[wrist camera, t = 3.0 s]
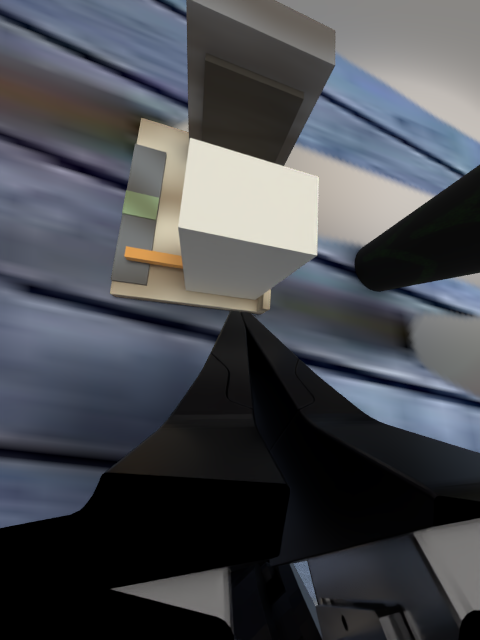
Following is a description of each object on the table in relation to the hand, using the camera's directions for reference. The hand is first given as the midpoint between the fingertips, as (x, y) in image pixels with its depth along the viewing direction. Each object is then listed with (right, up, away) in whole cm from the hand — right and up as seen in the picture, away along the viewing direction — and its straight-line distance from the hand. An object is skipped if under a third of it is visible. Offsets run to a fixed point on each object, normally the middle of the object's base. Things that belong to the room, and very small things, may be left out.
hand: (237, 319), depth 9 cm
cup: (+16, +6, +14) cm, 22 cm away
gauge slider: (-3, +4, +8) cm, 10 cm away
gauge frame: (-3, +9, +10) cm, 14 cm away
